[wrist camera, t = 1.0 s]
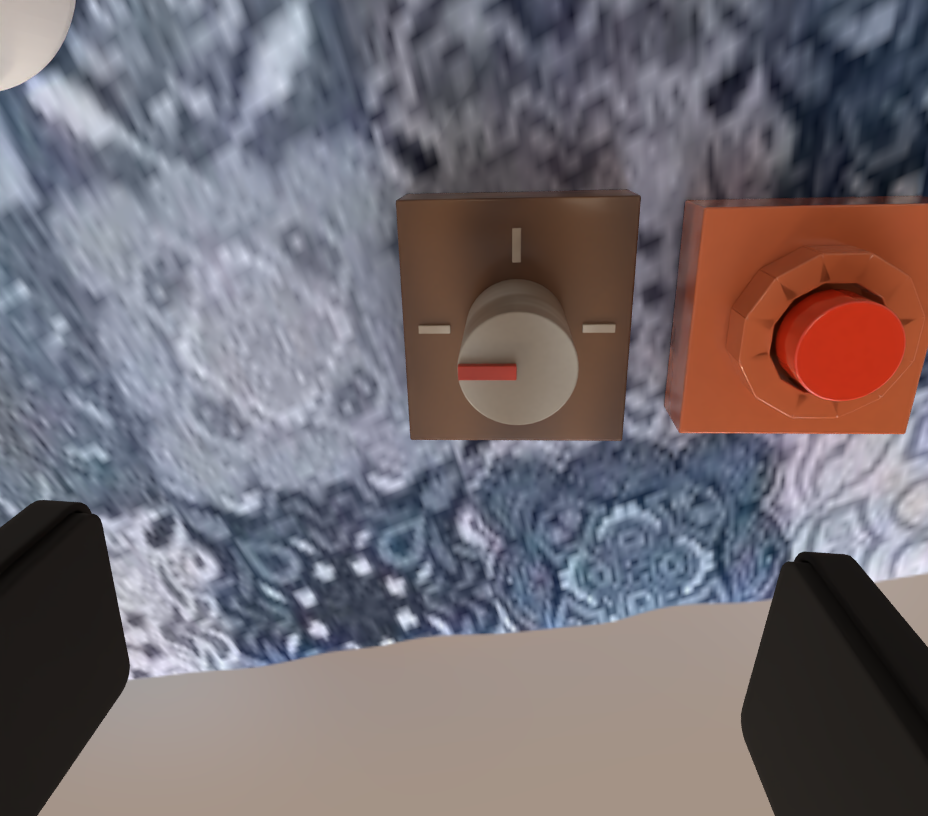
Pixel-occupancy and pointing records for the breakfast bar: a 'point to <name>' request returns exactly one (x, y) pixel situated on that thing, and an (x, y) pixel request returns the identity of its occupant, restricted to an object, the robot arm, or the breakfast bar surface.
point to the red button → (840, 344)
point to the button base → (775, 293)
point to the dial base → (517, 257)
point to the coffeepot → (30, 36)
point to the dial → (517, 354)
